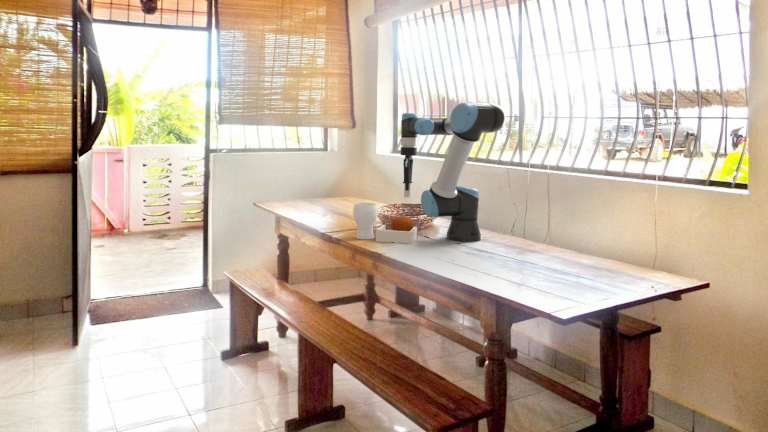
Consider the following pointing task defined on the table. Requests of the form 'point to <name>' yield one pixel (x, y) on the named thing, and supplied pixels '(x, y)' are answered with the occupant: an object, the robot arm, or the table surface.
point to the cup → (365, 219)
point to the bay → (396, 234)
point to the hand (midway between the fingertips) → (407, 197)
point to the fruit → (402, 223)
